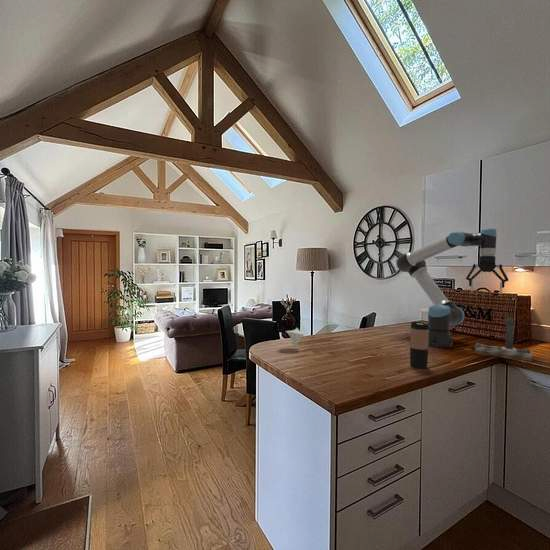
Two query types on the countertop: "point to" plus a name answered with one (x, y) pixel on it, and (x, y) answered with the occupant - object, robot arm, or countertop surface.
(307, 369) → the countertop surface
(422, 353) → the travel mug
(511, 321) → the slider
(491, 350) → the rail base
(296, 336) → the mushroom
